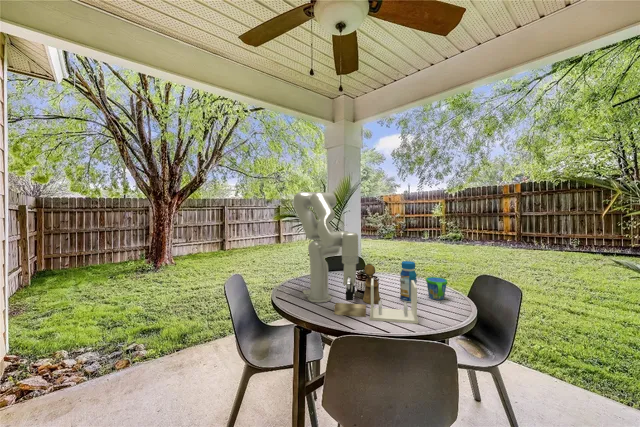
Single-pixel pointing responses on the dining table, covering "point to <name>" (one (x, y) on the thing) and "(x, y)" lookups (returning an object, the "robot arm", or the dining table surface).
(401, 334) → the dining table surface
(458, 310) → the dining table surface
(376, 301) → the wooden mug
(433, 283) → the snack cup
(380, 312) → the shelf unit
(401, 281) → the beverage bottle
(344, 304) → the tan wooden block
